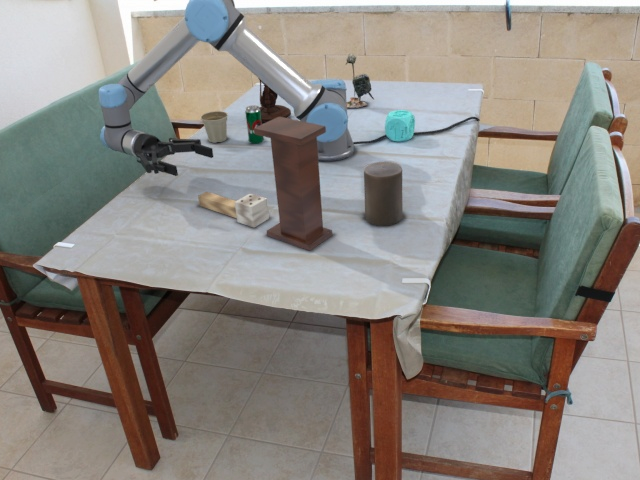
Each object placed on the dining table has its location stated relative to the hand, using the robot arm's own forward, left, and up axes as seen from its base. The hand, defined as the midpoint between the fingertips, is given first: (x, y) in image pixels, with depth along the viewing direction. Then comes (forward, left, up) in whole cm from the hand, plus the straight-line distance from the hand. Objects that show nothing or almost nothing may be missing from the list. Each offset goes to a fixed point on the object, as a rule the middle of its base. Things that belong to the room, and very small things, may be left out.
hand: (194, 161), depth 176 cm
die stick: (-7, +11, -12) cm, 18 cm away
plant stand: (-20, +30, -12) cm, 38 cm away
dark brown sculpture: (-34, -58, -12) cm, 69 cm away
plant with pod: (-68, -57, -12) cm, 90 cm away
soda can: (-24, -38, -12) cm, 47 cm away
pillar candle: (-43, +30, -12) cm, 54 cm away
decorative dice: (-69, -20, -12) cm, 73 cm away
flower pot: (-12, -46, -12) cm, 49 cm away
